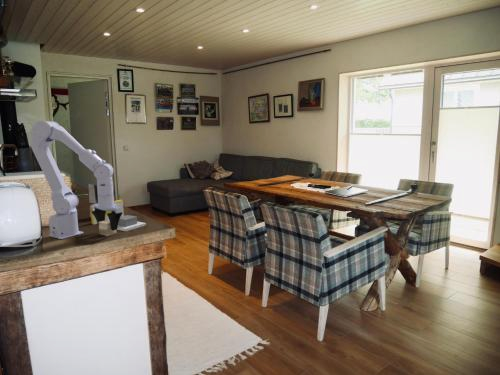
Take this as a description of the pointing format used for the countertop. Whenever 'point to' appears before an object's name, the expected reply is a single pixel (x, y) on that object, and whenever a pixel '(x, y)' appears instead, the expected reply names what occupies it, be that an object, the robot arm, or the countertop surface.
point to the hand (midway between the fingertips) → (108, 228)
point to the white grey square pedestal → (129, 223)
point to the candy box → (118, 203)
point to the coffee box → (93, 194)
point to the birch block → (106, 228)
